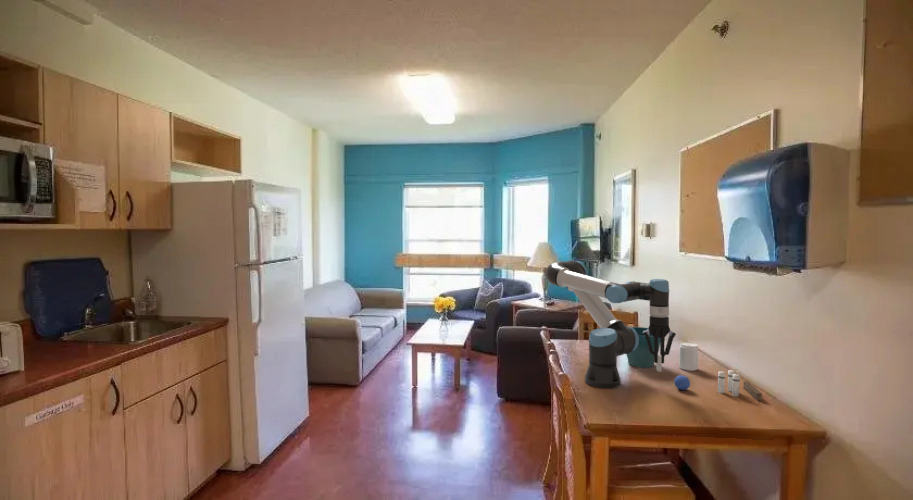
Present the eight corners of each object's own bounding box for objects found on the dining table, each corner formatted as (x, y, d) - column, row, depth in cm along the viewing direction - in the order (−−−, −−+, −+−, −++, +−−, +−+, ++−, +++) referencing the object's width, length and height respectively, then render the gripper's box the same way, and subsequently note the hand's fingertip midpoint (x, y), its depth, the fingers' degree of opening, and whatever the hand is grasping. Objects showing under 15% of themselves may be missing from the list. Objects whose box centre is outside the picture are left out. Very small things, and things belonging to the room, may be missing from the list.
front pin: (718, 393, 185) (719, 373, 184) (716, 390, 187) (717, 371, 186) (725, 393, 184) (726, 373, 183) (723, 391, 186) (723, 371, 186)
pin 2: (733, 396, 181) (733, 375, 181) (731, 394, 184) (731, 373, 183) (740, 396, 180) (740, 376, 180) (737, 394, 183) (738, 374, 182)
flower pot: (669, 367, 217) (670, 333, 217) (640, 372, 211) (641, 337, 210) (641, 357, 234) (642, 325, 233) (614, 361, 228) (614, 329, 227)
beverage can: (700, 371, 211) (700, 346, 210) (681, 370, 213) (682, 346, 212) (694, 366, 219) (695, 342, 218) (677, 365, 221) (677, 341, 220)
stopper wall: (757, 400, 176) (757, 393, 176) (743, 388, 190) (743, 381, 190) (761, 401, 176) (762, 393, 176) (747, 388, 189) (747, 381, 189)
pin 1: (728, 391, 186) (729, 371, 185) (726, 389, 188) (727, 369, 188) (735, 392, 185) (736, 372, 185) (733, 390, 188) (733, 370, 187)
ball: (676, 391, 187) (676, 377, 186) (672, 386, 193) (672, 372, 192) (691, 392, 185) (692, 378, 185) (687, 387, 191) (688, 373, 191)
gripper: (644, 317, 187) (644, 372, 188) (678, 317, 184) (677, 374, 185) (641, 313, 194) (641, 366, 196) (673, 314, 191) (673, 368, 193)
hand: (658, 370), depth 190 cm, fingers closed
